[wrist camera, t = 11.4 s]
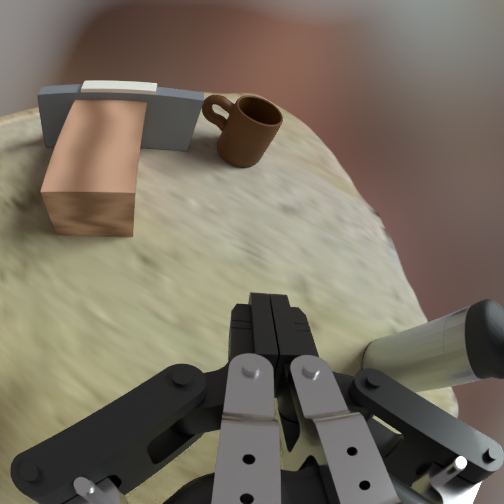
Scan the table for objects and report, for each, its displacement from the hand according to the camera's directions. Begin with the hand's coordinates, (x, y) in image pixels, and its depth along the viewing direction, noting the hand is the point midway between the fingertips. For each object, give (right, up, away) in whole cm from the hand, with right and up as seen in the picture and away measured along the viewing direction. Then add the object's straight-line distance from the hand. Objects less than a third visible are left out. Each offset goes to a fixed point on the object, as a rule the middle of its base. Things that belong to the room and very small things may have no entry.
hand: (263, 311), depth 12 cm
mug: (-5, +19, +33) cm, 39 cm away
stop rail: (-21, +21, +26) cm, 40 cm away
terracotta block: (-21, +11, +22) cm, 32 cm away
